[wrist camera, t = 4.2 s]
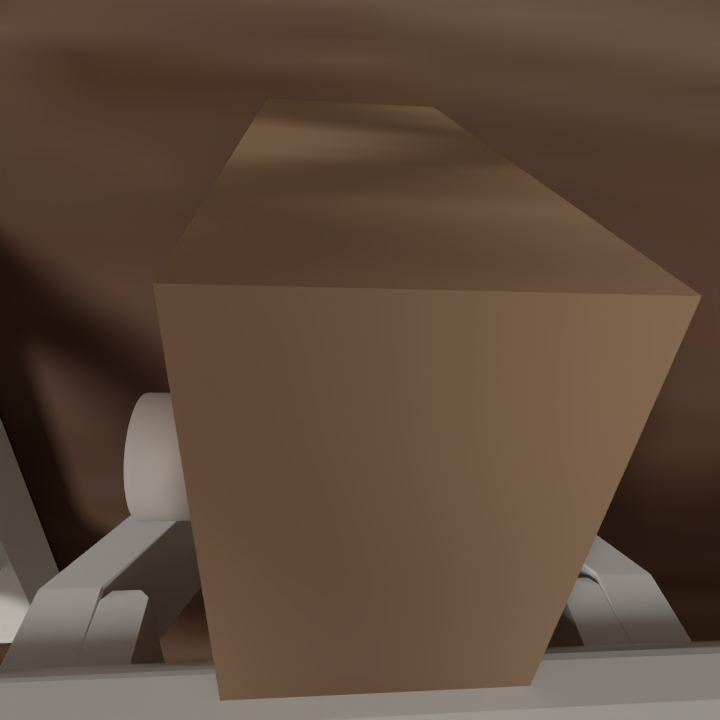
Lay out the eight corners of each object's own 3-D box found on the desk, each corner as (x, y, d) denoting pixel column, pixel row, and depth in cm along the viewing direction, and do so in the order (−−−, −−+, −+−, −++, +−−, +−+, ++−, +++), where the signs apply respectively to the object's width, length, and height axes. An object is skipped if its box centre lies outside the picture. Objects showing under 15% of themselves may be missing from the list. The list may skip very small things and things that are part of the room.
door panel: (433, 106, 10) (701, 296, 3) (380, 541, 16) (429, 915, 9) (210, 94, 9) (-58, 278, 3) (246, 544, 16) (197, 934, 9)
